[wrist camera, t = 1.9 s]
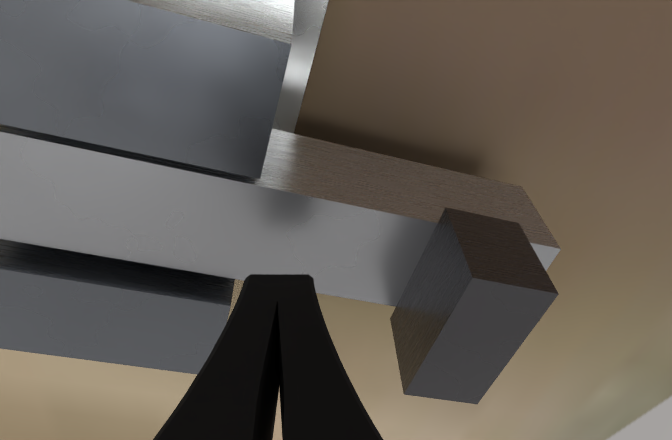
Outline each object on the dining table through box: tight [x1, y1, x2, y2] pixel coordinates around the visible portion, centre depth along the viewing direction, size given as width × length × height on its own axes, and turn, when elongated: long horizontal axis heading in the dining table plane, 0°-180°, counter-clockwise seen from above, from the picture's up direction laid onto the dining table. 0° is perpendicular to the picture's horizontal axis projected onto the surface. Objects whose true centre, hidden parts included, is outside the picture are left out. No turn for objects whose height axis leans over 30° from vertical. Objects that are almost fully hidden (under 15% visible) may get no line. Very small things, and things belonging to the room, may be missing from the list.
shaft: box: [0, 124, 561, 404], centre depth 13 cm, size 19×4×6 cm, turn 74°
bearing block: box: [0, 0, 329, 374], centre depth 13 cm, size 14×12×6 cm
